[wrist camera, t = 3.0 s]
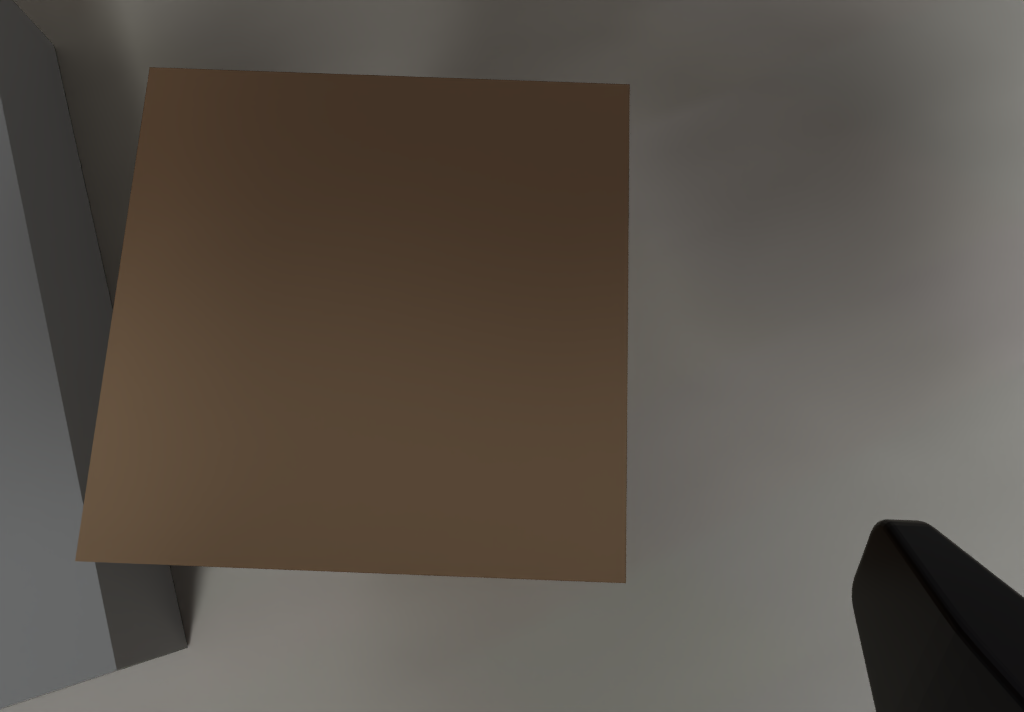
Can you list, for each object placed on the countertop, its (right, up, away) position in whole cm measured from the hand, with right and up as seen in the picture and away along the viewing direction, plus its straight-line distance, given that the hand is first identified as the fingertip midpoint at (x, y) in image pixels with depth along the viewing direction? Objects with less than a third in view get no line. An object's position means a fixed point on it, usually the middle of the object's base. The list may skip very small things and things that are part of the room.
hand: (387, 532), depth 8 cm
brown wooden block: (0, 0, +10) cm, 9 cm away
